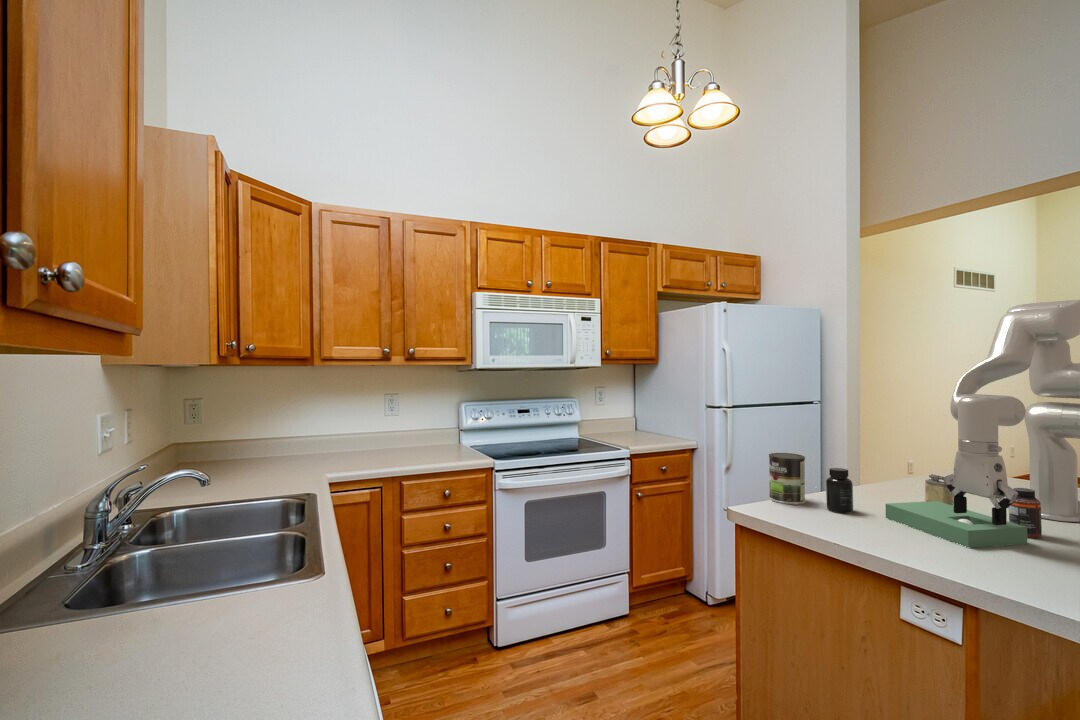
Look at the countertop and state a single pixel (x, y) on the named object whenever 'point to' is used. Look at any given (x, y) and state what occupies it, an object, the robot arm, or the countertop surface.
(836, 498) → the supplement bottle
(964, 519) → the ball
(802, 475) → the coffee can
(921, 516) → the putting board
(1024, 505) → the supplement bottle
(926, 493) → the lighter
